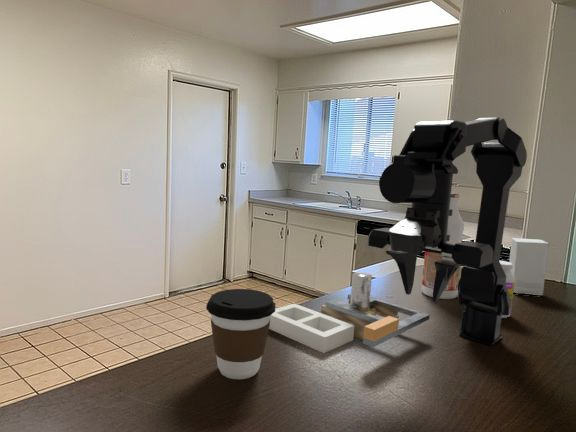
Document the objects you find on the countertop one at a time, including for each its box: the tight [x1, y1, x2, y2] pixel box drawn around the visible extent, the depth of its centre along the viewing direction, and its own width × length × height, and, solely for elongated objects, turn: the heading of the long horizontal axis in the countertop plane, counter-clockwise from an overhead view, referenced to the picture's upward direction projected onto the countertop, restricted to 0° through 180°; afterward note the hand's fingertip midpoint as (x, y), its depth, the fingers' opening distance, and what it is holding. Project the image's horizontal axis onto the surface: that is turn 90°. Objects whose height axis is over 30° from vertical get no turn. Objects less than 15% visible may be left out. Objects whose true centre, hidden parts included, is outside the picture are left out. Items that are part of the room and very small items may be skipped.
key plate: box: [324, 293, 430, 348], centre depth 84 cm, size 18×20×3 cm
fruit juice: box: [421, 192, 465, 300], centre depth 115 cm, size 9×9×28 cm
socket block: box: [319, 299, 399, 341], centre depth 90 cm, size 12×12×4 cm
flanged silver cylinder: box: [350, 272, 376, 316], centre depth 90 cm, size 7×7×11 cm
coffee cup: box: [205, 288, 276, 380], centre depth 68 cm, size 11×11×12 cm
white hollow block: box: [269, 303, 354, 354], centre depth 84 cm, size 16×9×3 cm, turn 46°
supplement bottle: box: [499, 259, 515, 319], centre depth 102 cm, size 7×7×13 cm
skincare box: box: [508, 237, 550, 296], centre depth 122 cm, size 8×7×16 cm
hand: (421, 297), depth 69 cm, fingers open, 4 cm apart
